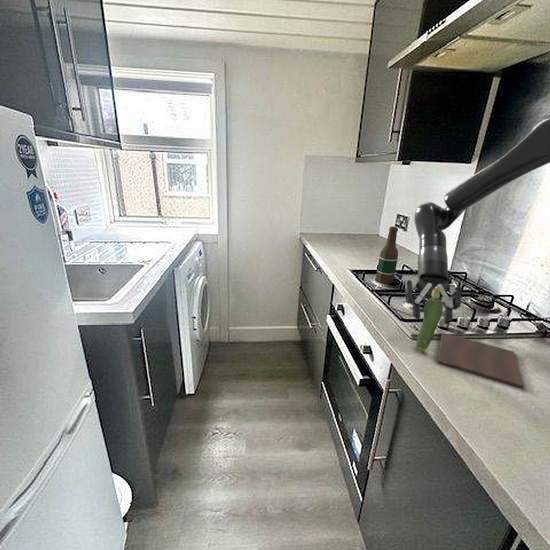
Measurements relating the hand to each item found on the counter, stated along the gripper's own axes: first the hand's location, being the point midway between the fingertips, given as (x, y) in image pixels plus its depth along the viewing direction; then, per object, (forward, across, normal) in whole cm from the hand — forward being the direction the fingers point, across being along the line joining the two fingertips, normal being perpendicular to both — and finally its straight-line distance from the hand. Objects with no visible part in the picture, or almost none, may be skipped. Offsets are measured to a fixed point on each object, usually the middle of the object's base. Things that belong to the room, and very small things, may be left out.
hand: (432, 320), depth 79 cm
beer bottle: (-30, -7, +45) cm, 55 cm away
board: (+6, +14, +9) cm, 17 cm away
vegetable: (+6, 0, +9) cm, 11 cm away
